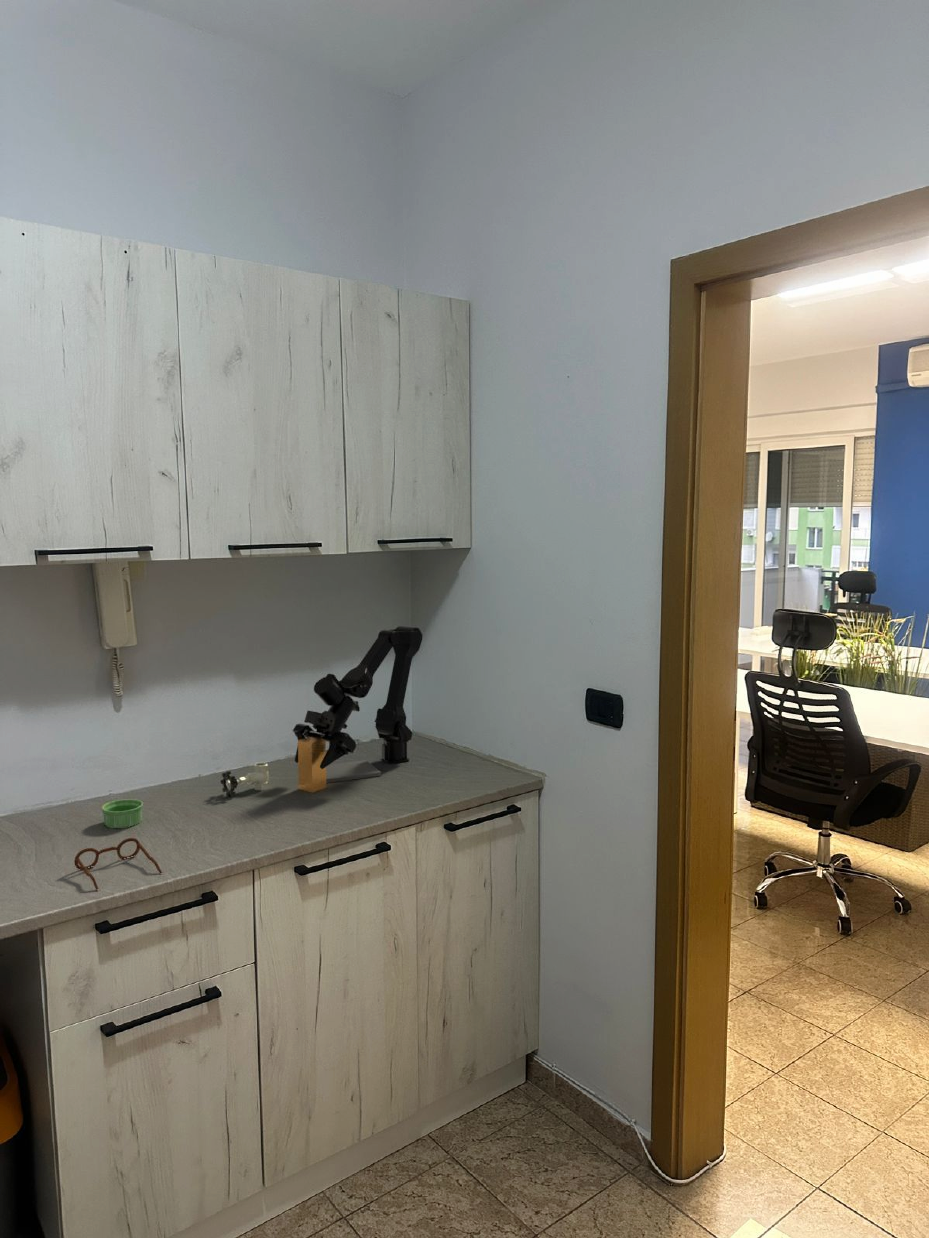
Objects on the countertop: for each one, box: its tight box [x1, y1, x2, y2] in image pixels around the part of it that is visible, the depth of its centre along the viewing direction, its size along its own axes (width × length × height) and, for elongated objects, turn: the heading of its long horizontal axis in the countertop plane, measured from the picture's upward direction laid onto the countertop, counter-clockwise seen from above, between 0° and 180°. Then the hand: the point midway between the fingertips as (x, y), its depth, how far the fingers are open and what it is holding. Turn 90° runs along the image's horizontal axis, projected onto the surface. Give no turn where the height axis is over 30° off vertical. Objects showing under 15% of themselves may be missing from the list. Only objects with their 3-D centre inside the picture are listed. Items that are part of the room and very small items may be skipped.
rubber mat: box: [326, 759, 382, 784], centre depth 247 cm, size 16×13×1 cm
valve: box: [220, 761, 270, 798], centre depth 230 cm, size 7×7×12 cm
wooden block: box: [297, 737, 327, 793], centre depth 233 cm, size 5×5×13 cm
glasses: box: [73, 837, 163, 890], centre depth 179 cm, size 13×13×5 cm
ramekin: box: [101, 798, 144, 829], centre depth 207 cm, size 9×9×4 cm
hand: (308, 765), depth 231 cm, fingers open, 9 cm apart
